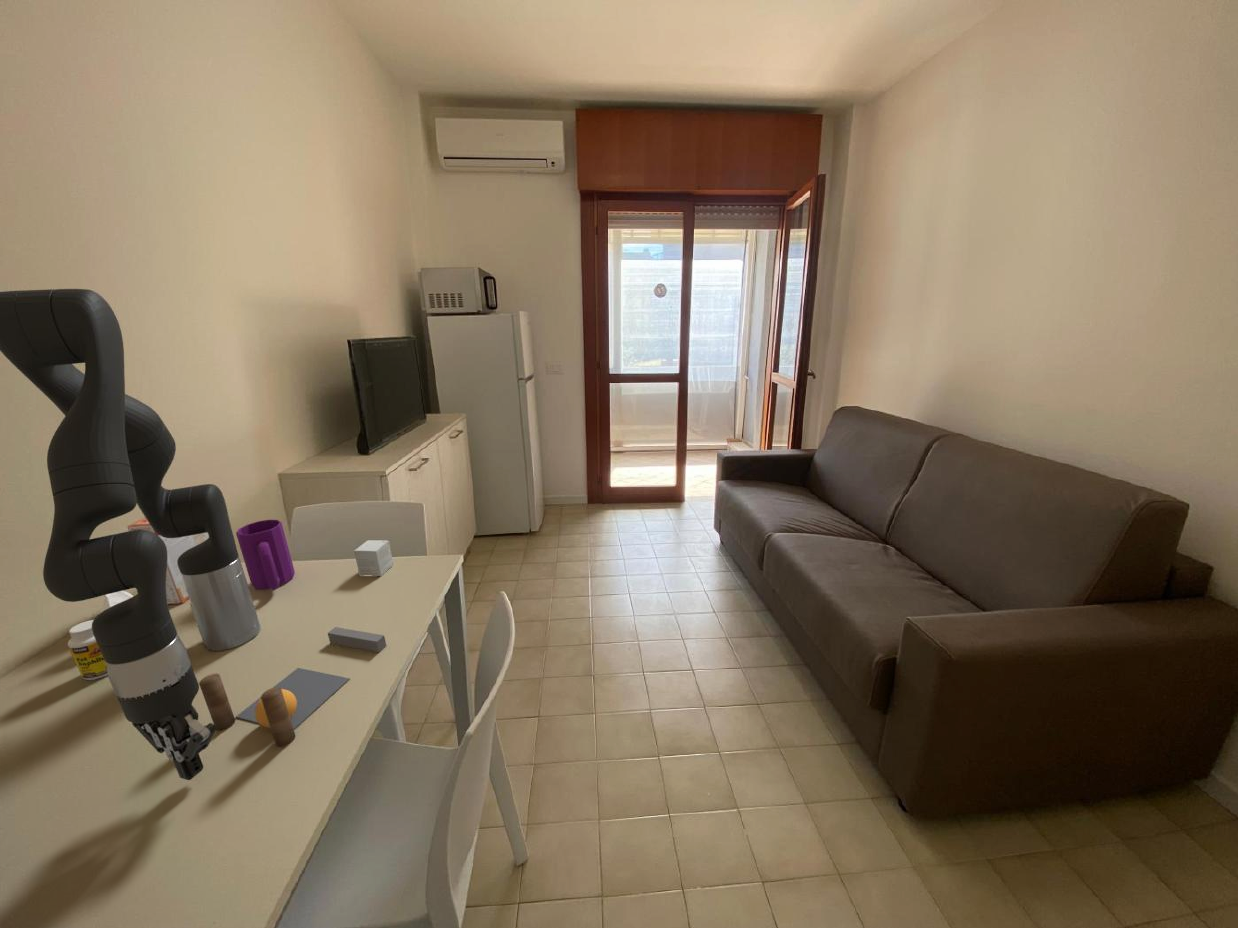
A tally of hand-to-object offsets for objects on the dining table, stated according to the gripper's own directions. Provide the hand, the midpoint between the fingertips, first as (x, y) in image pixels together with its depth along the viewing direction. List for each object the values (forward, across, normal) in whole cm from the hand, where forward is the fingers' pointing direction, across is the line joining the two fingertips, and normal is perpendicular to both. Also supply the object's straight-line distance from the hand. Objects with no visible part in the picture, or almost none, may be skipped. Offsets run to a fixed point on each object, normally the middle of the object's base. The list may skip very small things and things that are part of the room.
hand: (192, 773), depth 71 cm
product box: (+2, -18, +57) cm, 60 cm away
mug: (+2, -38, +45) cm, 59 cm away
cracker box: (+2, -58, +39) cm, 70 cm away
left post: (+2, -6, +9) cm, 11 cm away
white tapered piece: (+2, -51, +22) cm, 56 cm away
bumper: (+2, 0, +31) cm, 31 cm away
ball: (-1, +2, +12) cm, 12 cm away
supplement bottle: (+2, -43, +13) cm, 45 cm away
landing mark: (+2, 0, +16) cm, 17 cm away
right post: (+2, +6, +9) cm, 11 cm away
